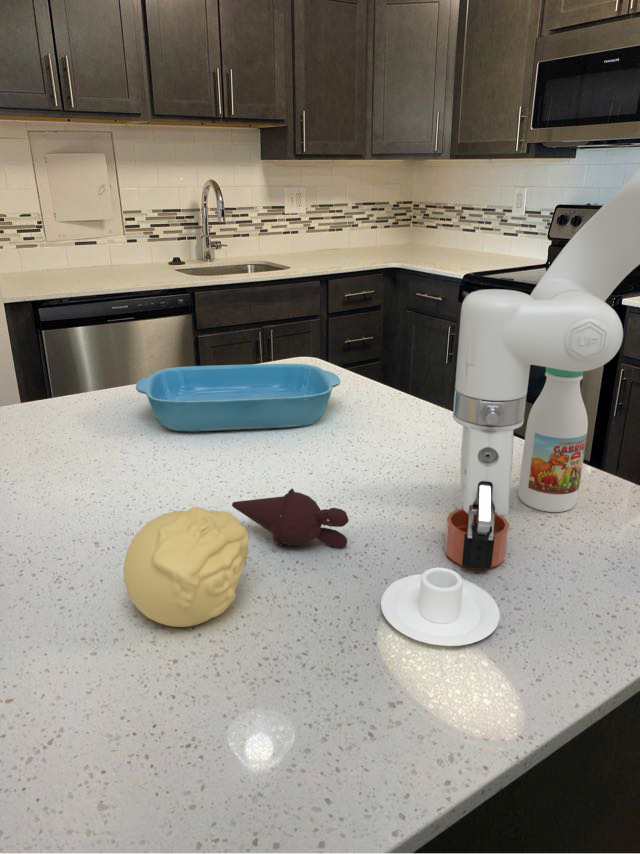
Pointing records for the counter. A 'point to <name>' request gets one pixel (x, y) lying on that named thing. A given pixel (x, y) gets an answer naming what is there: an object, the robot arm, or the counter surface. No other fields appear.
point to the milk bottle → (554, 444)
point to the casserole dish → (238, 396)
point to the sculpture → (186, 566)
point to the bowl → (458, 529)
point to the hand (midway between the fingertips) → (475, 547)
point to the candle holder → (440, 608)
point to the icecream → (295, 519)
